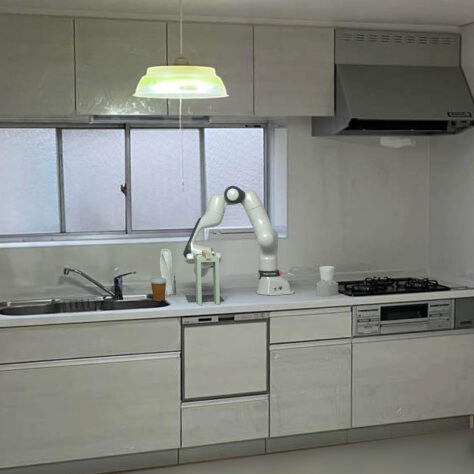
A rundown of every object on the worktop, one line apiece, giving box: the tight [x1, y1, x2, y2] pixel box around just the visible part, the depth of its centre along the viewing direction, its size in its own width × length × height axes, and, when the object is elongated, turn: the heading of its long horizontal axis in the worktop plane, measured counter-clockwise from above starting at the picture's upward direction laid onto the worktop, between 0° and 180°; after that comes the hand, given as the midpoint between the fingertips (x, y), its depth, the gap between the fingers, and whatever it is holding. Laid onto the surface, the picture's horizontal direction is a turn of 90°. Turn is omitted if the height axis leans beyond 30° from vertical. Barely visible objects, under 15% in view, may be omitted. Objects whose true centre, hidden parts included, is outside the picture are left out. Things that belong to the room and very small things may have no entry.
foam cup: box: [318, 265, 336, 281], centre depth 453 cm, size 10×9×13 cm
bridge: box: [194, 256, 221, 306], centre depth 402 cm, size 12×10×26 cm
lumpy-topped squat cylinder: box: [315, 279, 339, 297], centre depth 426 cm, size 10×13×9 cm
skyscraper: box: [159, 248, 178, 297], centre depth 435 cm, size 8×8×28 cm
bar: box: [202, 250, 211, 259], centre depth 405 cm, size 19×2×2 cm, turn 9°
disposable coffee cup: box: [149, 277, 167, 301], centre depth 419 cm, size 10×10×12 cm
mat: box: [185, 293, 225, 303], centre depth 420 cm, size 20×21×1 cm
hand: (205, 252), depth 410 cm, fingers open, 8 cm apart
